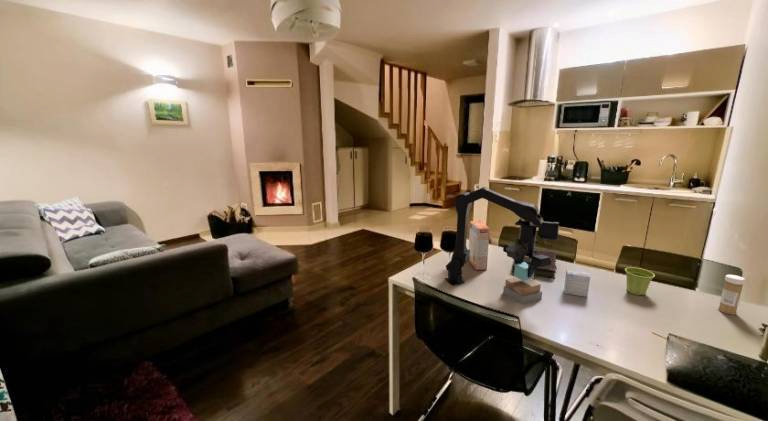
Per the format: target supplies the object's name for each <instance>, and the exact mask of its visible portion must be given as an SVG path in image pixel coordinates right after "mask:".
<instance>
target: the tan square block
mask: <svg viewBox="0 0 768 421" xmlns="http://www.w3.org/2000/svg"><path fill="white" fill-rule="evenodd" d="M504 286H505V287H507V288H509V289H511V290H513V291H514V292H516V293H518V294H520V295H521V296H525V295H529V294H532V293H536V292H540V291H541V287H542V286H541V283H540V282H537V281H535V280H533V279H530V280H526V281H523V280H521V279H519V278H517V277H515V276H513V277H510V278H506V279H505V284H504Z"/></svg>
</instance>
